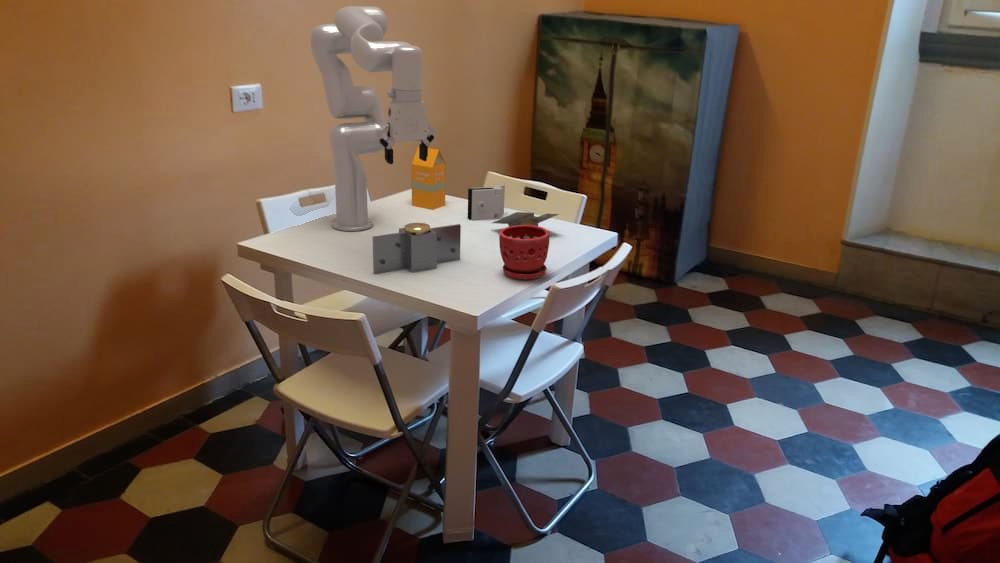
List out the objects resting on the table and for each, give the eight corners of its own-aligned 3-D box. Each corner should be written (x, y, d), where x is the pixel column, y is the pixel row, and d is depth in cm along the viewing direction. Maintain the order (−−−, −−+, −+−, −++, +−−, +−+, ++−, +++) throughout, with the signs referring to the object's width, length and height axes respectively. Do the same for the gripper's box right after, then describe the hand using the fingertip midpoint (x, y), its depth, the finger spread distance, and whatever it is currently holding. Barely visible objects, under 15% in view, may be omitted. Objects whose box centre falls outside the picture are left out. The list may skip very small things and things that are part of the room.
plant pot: (526, 262, 217) (528, 221, 212) (557, 276, 207) (560, 233, 203) (488, 271, 209) (489, 228, 205) (518, 286, 200) (520, 241, 195)
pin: (401, 262, 212) (400, 224, 208) (423, 258, 215) (423, 221, 211) (411, 269, 207) (411, 231, 203) (434, 266, 210) (434, 227, 206)
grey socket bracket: (368, 268, 208) (367, 233, 204) (453, 254, 221) (453, 220, 217) (379, 277, 202) (379, 241, 198) (466, 262, 215) (466, 228, 211)
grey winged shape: (494, 248, 240) (517, 227, 228) (489, 222, 243) (512, 200, 231) (539, 249, 248) (564, 229, 236) (533, 224, 251) (558, 203, 239)
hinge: (502, 213, 262) (503, 184, 258) (510, 218, 257) (512, 188, 254) (465, 218, 255) (466, 188, 252) (473, 222, 251) (473, 192, 247)
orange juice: (432, 210, 263) (432, 150, 256) (411, 205, 267) (410, 147, 260) (445, 205, 269) (446, 147, 262) (425, 200, 273) (424, 143, 266)
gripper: (381, 100, 193) (381, 167, 199) (443, 97, 201) (442, 162, 208) (369, 94, 199) (370, 160, 205) (430, 92, 207) (429, 155, 214)
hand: (406, 161), depth 207 cm, fingers open, 9 cm apart
